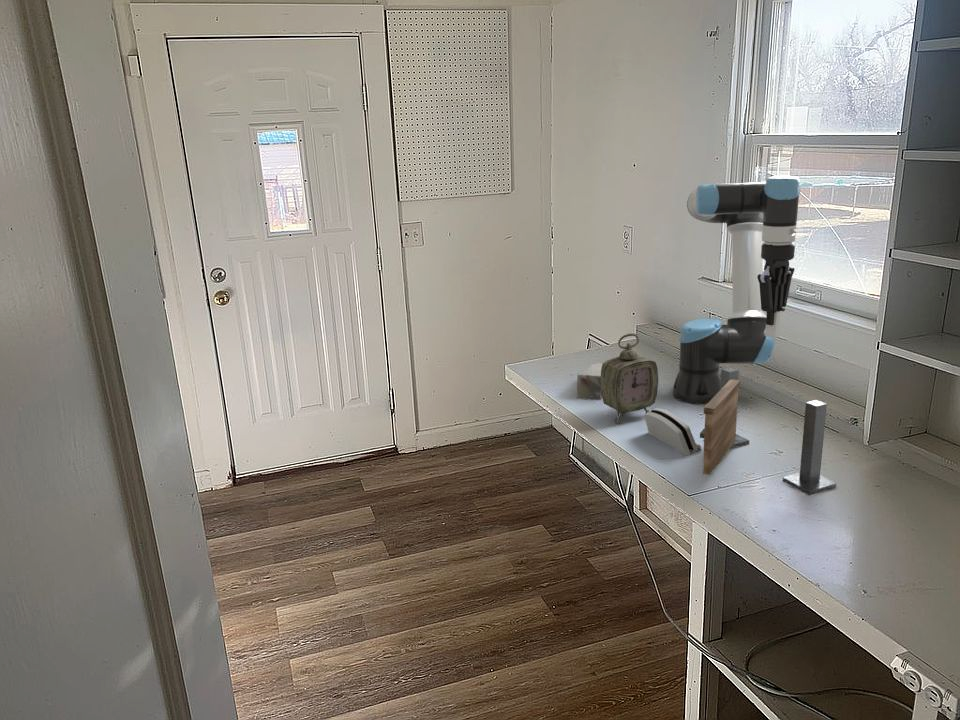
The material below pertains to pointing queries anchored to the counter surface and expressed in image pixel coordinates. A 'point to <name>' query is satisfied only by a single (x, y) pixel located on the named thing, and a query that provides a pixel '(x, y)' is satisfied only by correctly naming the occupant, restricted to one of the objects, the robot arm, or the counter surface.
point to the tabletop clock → (629, 381)
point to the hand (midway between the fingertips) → (771, 336)
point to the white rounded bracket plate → (671, 430)
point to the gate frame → (811, 445)
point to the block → (590, 383)
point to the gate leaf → (720, 425)
